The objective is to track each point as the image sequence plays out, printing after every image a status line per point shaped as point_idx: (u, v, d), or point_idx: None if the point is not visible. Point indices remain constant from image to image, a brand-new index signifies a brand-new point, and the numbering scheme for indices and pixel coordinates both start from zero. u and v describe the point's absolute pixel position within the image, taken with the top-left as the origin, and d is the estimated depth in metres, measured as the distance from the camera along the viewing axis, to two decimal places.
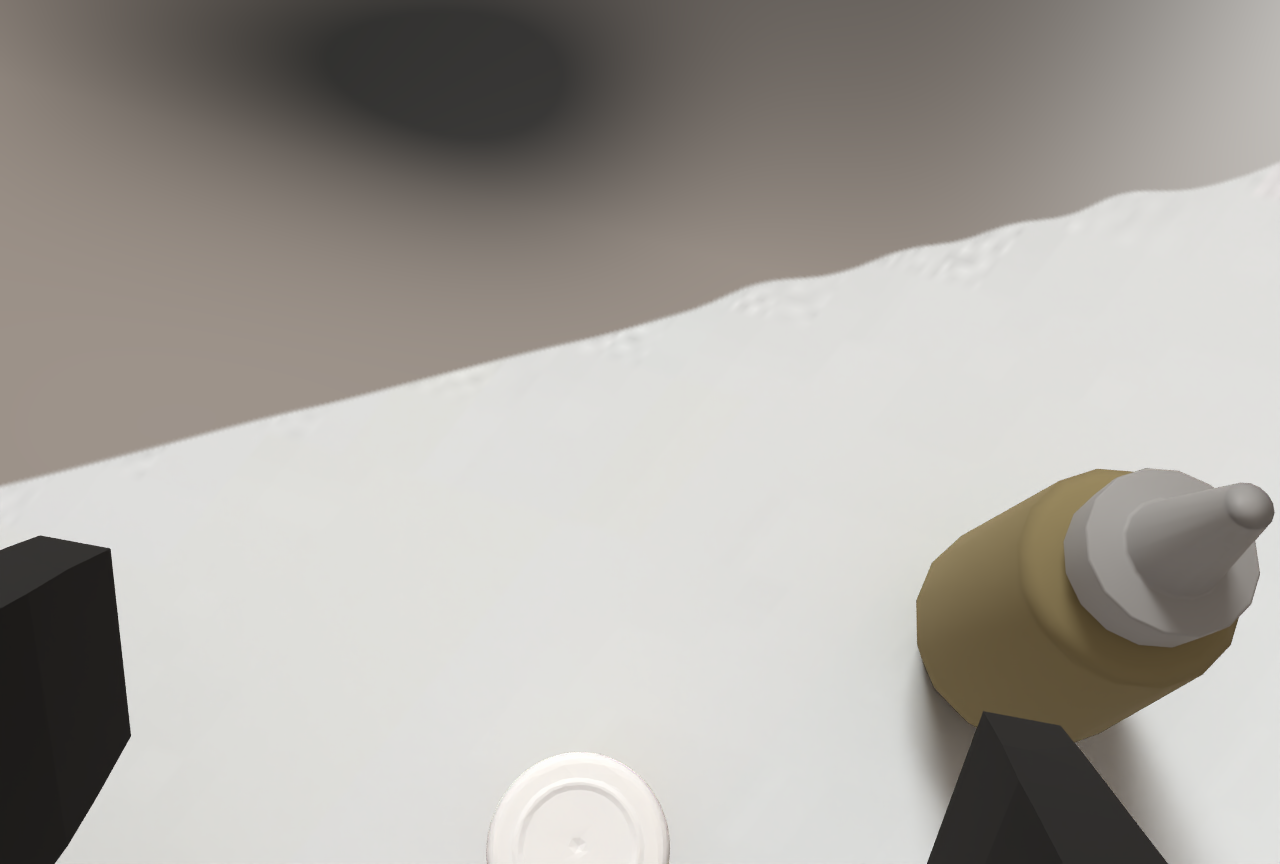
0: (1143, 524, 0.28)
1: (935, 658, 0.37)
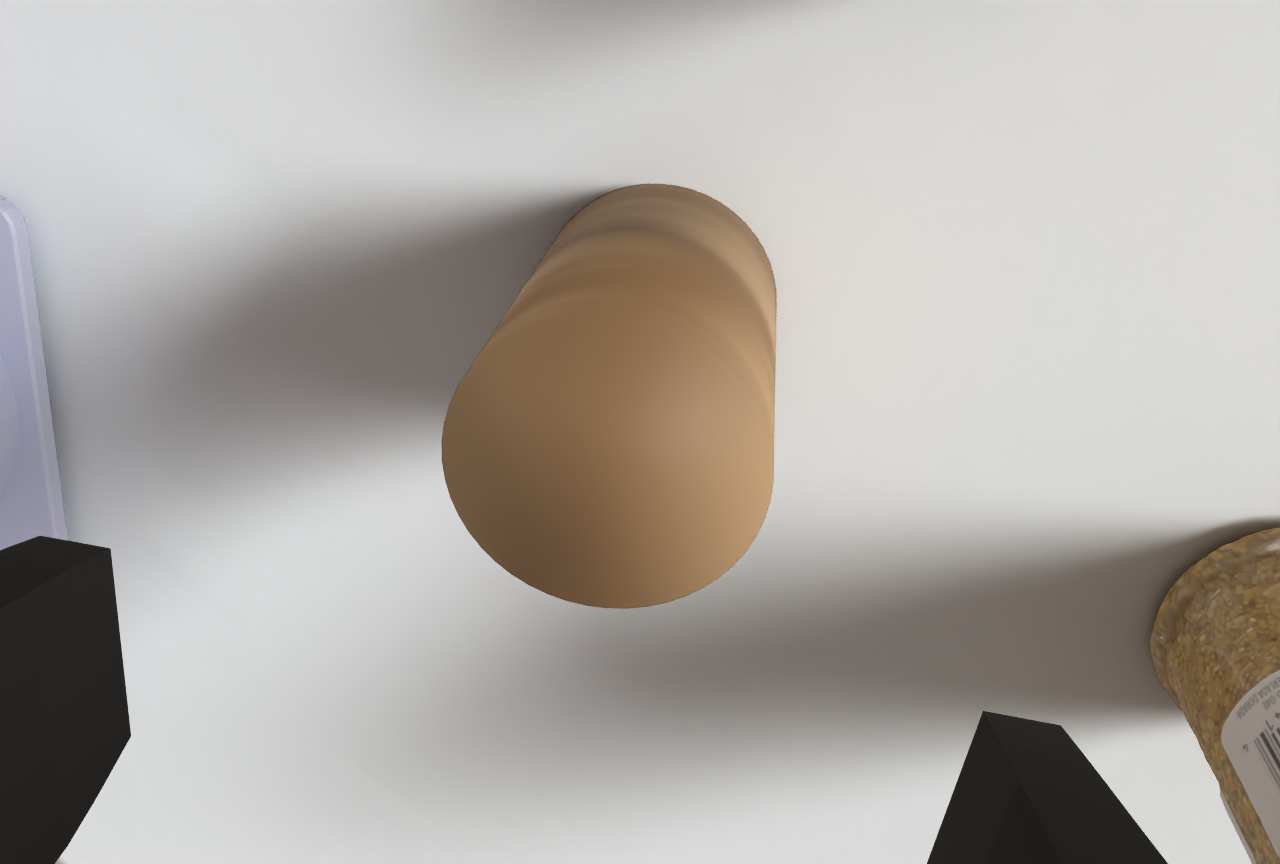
0: None
1: None
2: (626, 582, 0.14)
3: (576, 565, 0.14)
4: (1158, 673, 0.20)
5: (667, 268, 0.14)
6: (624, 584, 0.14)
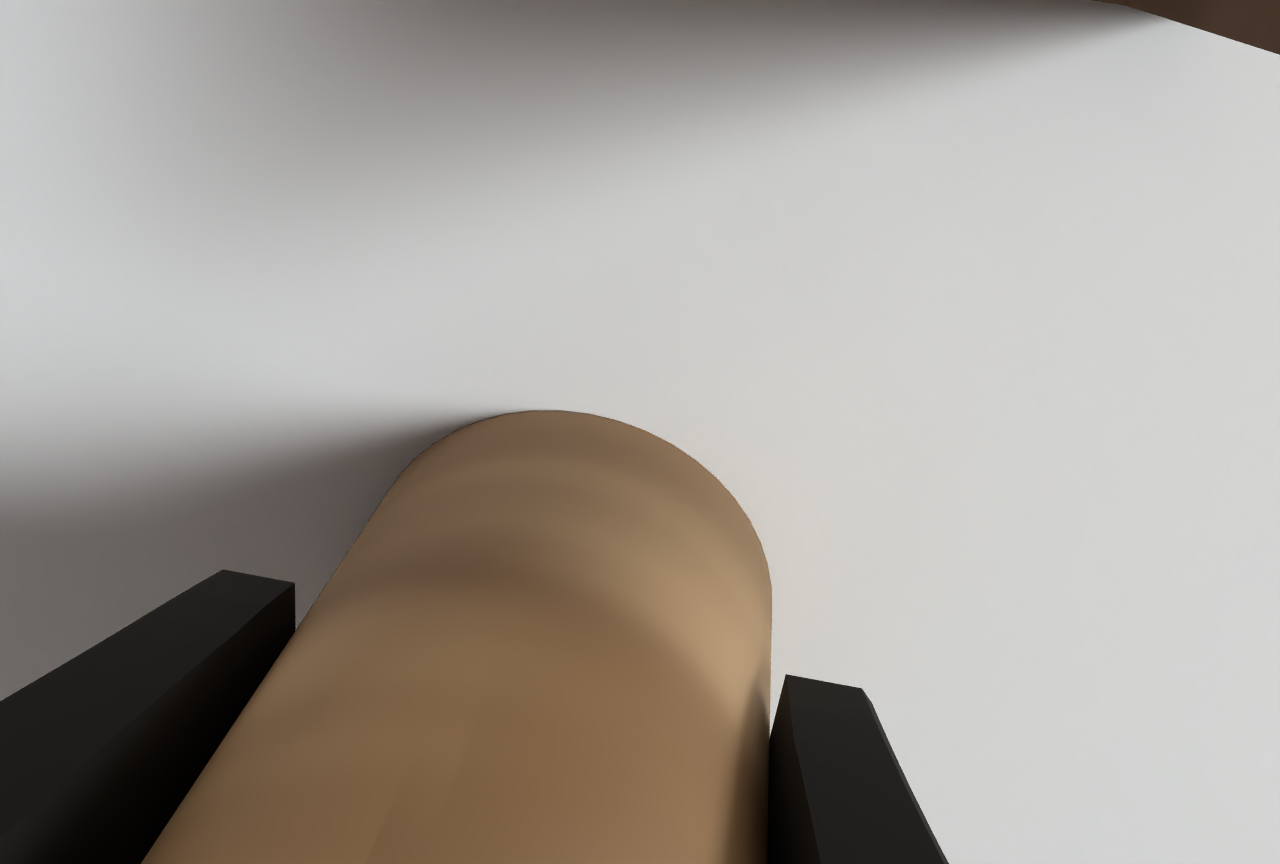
0: None
1: None
2: None
3: None
4: None
5: (521, 742, 0.06)
6: None
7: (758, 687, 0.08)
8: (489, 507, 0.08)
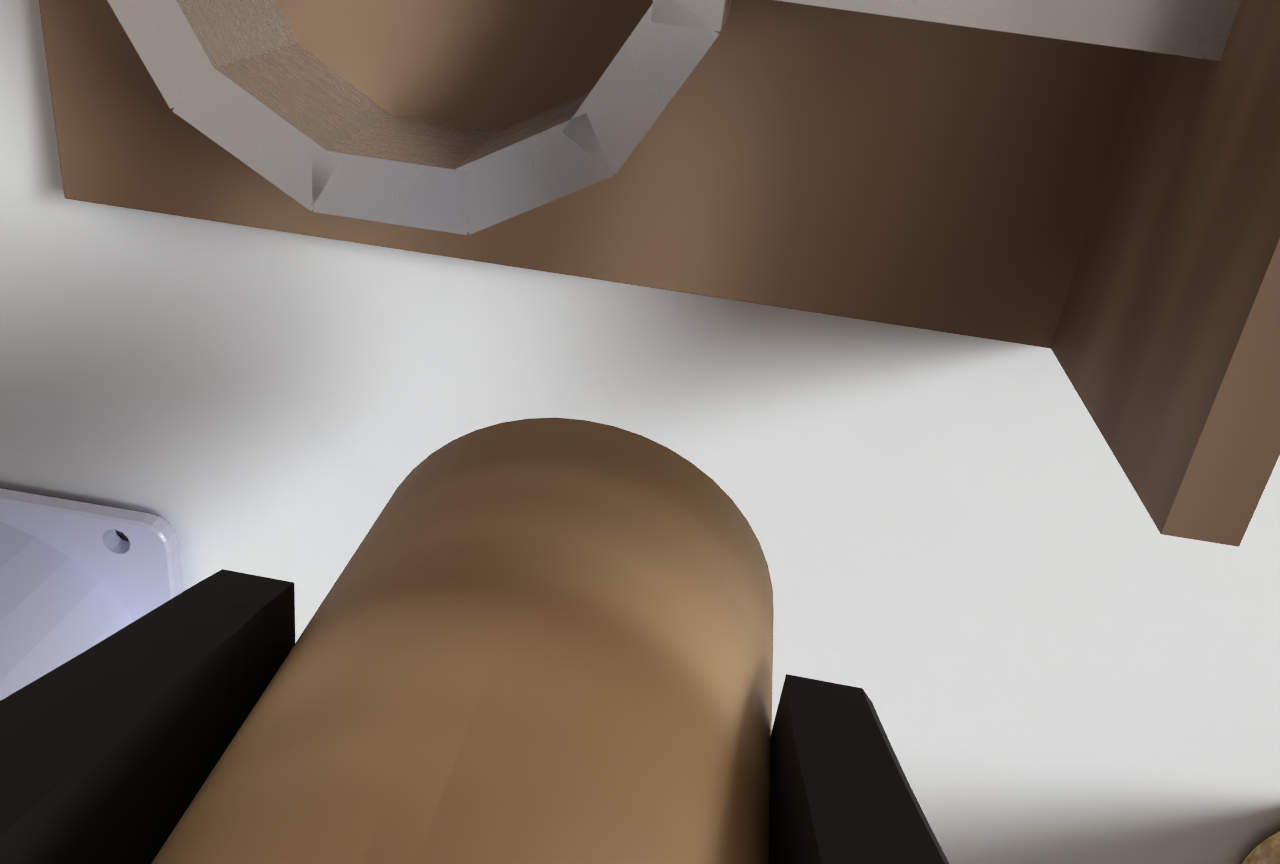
0: None
1: None
2: None
3: None
4: None
5: (513, 749, 0.06)
6: None
7: (757, 688, 0.08)
8: (483, 516, 0.08)
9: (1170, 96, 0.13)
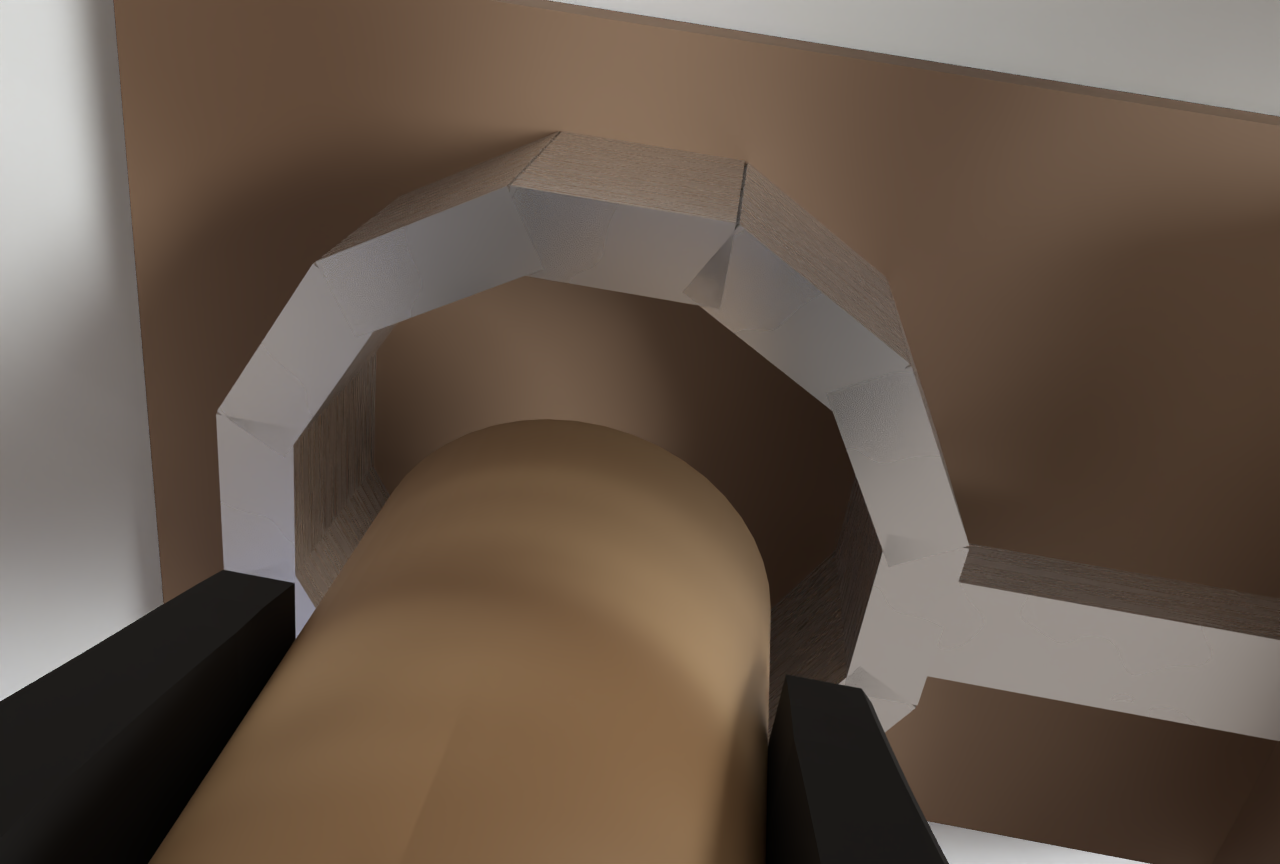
0: None
1: None
2: None
3: None
4: None
5: (499, 749, 0.06)
6: None
7: (751, 684, 0.08)
8: (473, 518, 0.08)
9: None
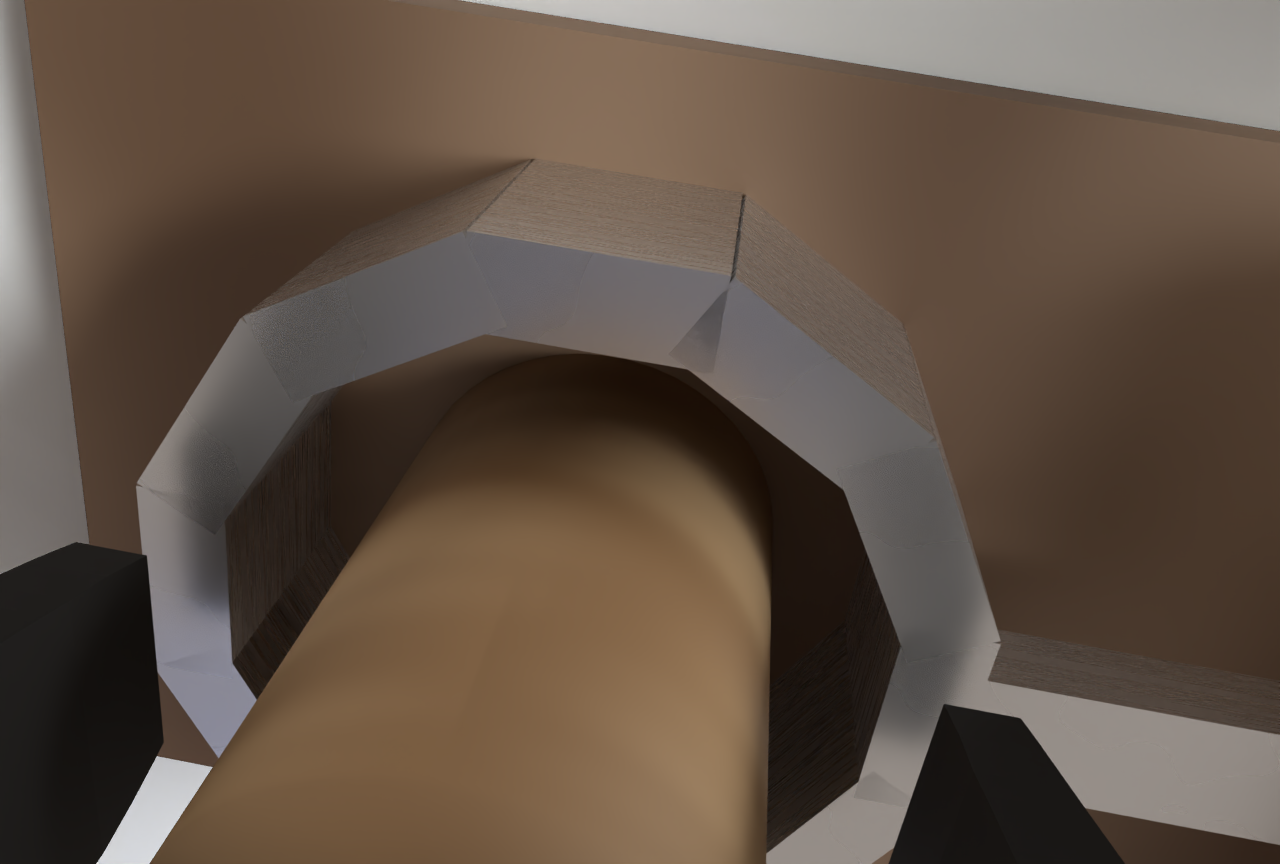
0: None
1: None
2: None
3: None
4: None
5: (554, 588, 0.07)
6: None
7: (757, 571, 0.10)
8: (519, 428, 0.10)
9: None
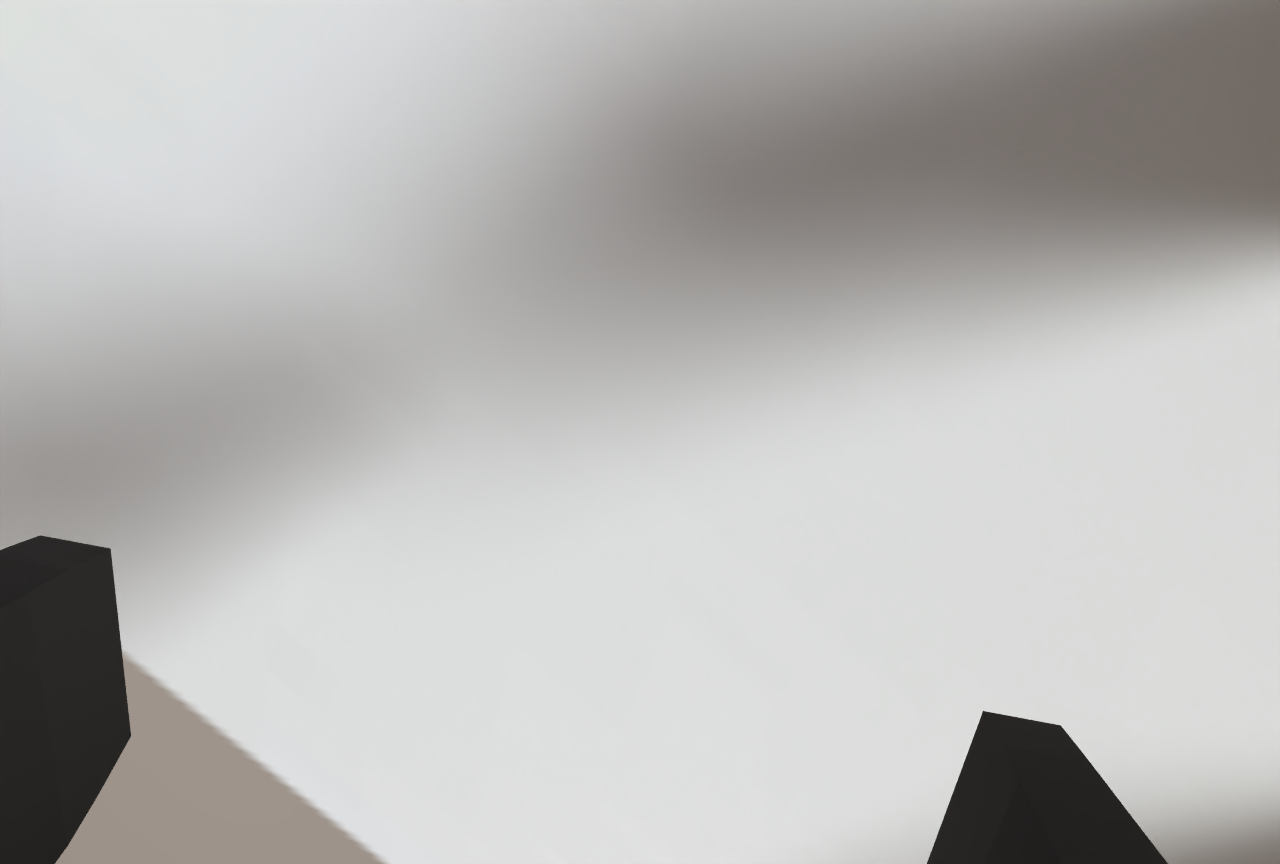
0: None
1: None
2: None
3: None
4: None
5: None
6: None
7: None
8: None
9: None
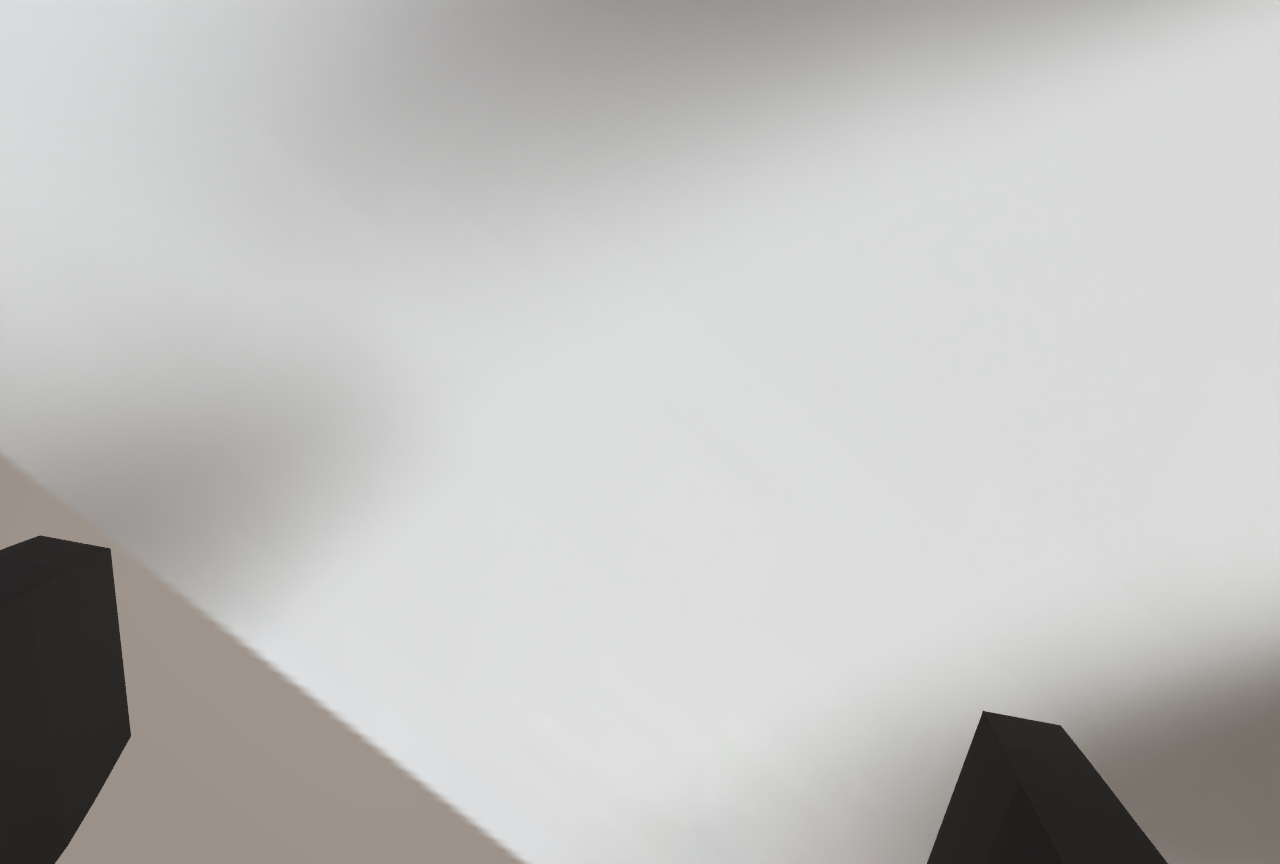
0: None
1: None
2: None
3: None
4: None
5: None
6: None
7: None
8: None
9: None
